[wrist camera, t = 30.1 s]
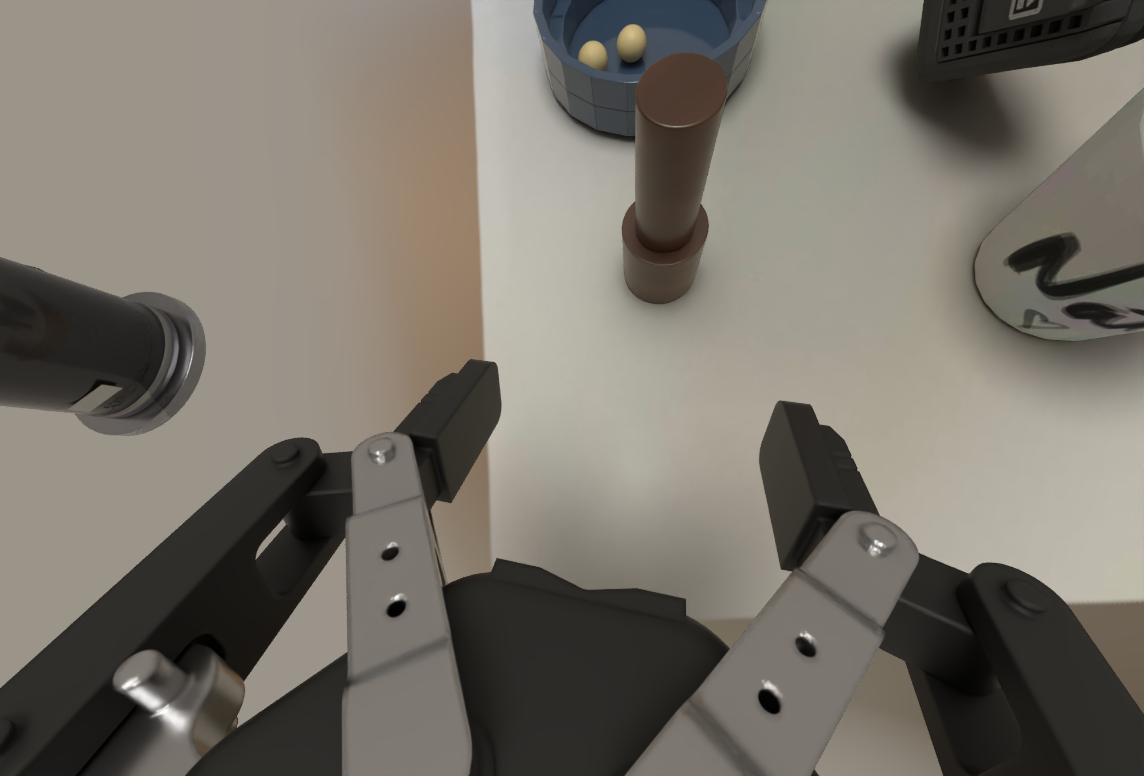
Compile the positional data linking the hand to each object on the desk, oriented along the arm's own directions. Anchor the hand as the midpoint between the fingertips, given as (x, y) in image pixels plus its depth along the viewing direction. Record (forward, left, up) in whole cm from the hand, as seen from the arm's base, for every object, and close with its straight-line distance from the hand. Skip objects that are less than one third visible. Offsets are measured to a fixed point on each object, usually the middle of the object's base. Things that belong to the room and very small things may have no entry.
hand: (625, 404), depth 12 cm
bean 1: (-17, +19, -11) cm, 28 cm away
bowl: (-15, +22, -13) cm, 30 cm away
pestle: (-5, +10, -13) cm, 17 cm away
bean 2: (-16, +21, -11) cm, 29 cm away
